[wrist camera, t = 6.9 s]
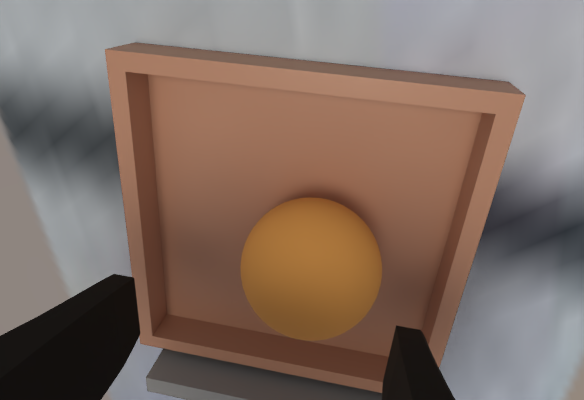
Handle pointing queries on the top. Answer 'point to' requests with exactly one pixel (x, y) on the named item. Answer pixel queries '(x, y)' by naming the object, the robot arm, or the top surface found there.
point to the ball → (311, 269)
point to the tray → (300, 192)
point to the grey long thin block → (239, 381)
